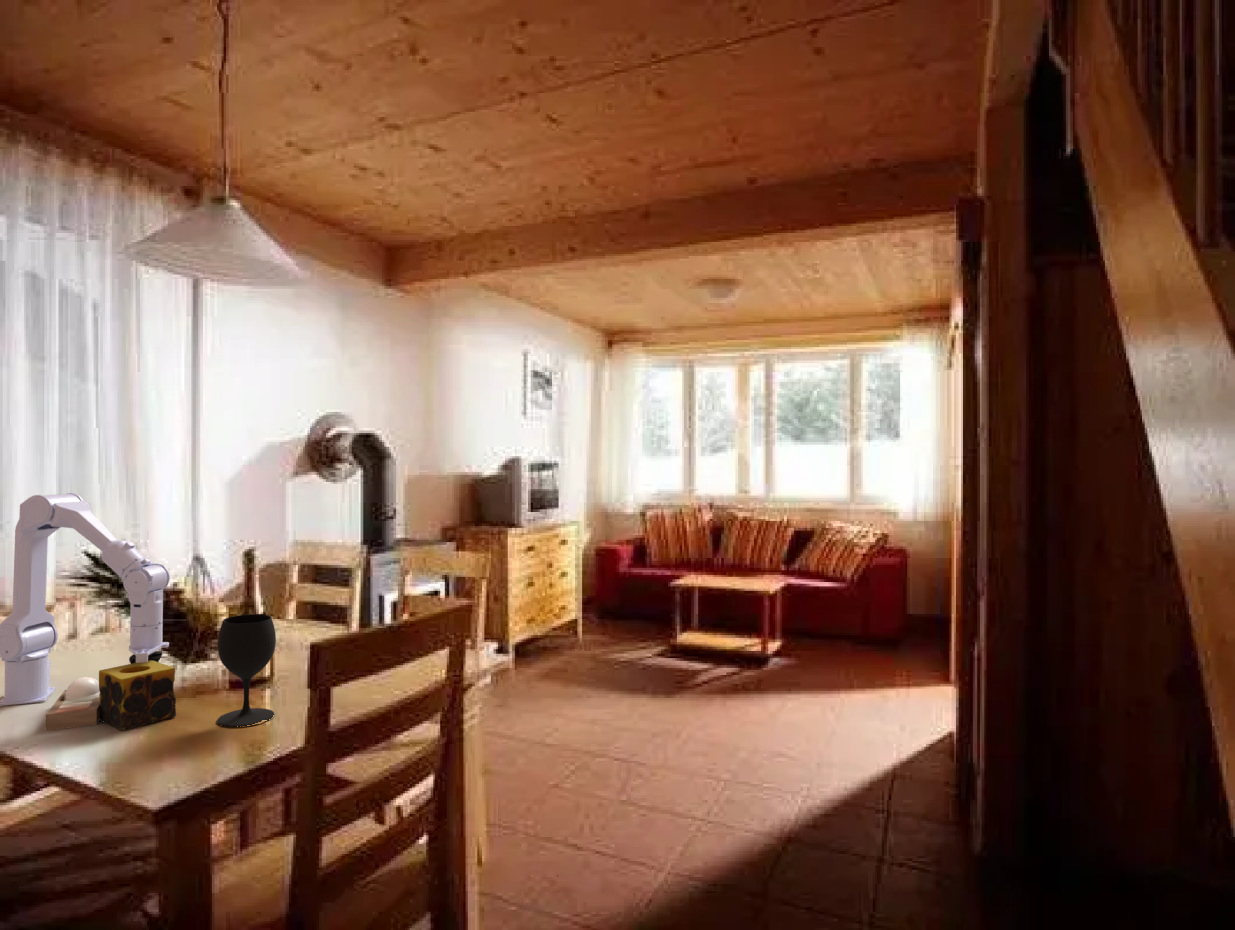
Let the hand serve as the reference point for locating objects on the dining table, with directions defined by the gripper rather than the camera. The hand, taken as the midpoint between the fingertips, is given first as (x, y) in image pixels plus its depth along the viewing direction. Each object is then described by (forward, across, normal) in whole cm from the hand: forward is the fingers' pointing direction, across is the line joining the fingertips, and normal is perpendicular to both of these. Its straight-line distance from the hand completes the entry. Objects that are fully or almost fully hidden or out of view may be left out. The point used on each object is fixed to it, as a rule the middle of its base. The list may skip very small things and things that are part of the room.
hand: (145, 688), depth 157 cm
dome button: (+3, +2, +11) cm, 12 cm away
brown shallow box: (+3, -1, +11) cm, 12 cm away
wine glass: (+4, -16, -19) cm, 25 cm away
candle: (+4, -9, 0) cm, 9 cm away
